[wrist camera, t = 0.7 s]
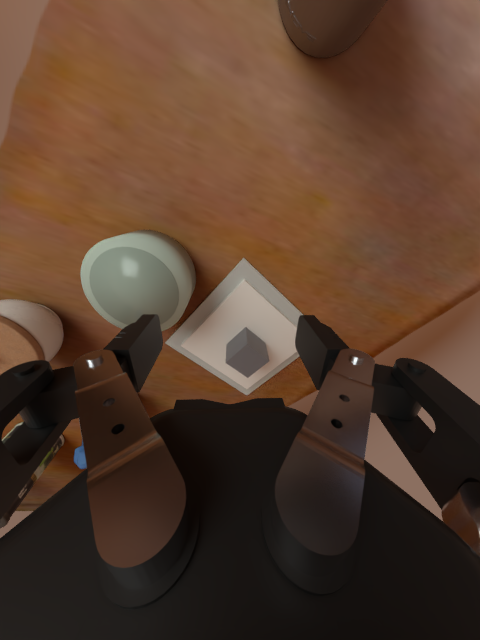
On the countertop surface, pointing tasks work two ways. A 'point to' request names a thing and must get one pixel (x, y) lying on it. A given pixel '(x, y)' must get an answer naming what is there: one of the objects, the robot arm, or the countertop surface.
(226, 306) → the lid
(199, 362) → the mat
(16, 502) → the coffee can
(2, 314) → the lidded jar
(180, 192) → the countertop surface
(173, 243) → the bowl
